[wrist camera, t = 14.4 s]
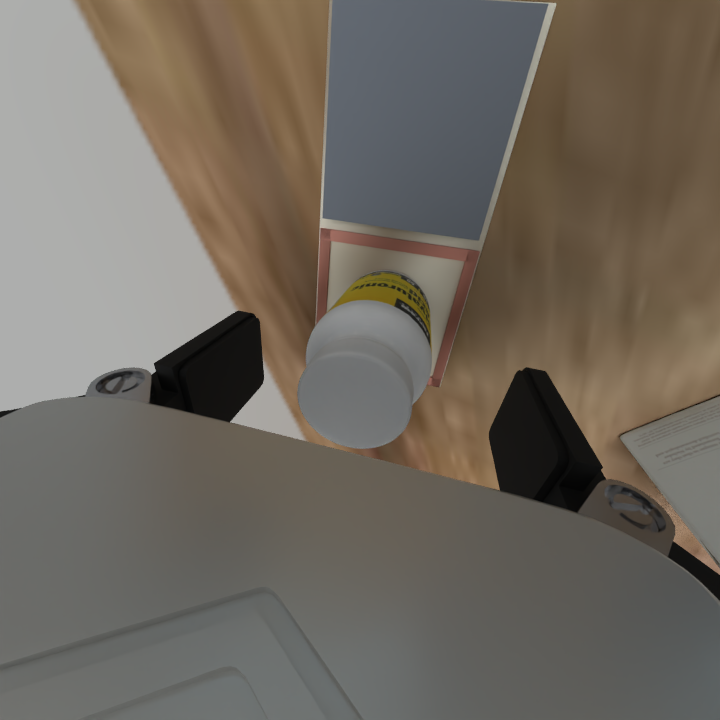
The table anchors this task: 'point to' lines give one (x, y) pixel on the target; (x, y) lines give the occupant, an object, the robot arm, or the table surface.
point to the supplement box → (685, 466)
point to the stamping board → (412, 246)
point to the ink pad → (423, 109)
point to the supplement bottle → (368, 361)
